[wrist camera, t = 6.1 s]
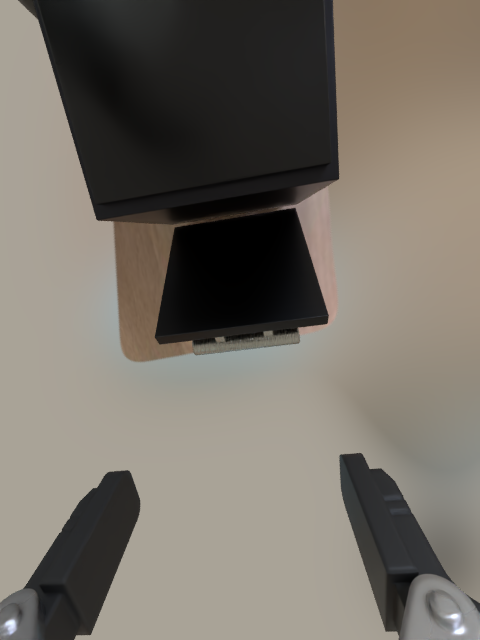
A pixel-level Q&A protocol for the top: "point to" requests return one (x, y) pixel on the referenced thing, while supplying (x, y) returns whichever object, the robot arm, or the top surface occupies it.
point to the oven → (196, 103)
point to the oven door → (240, 284)
